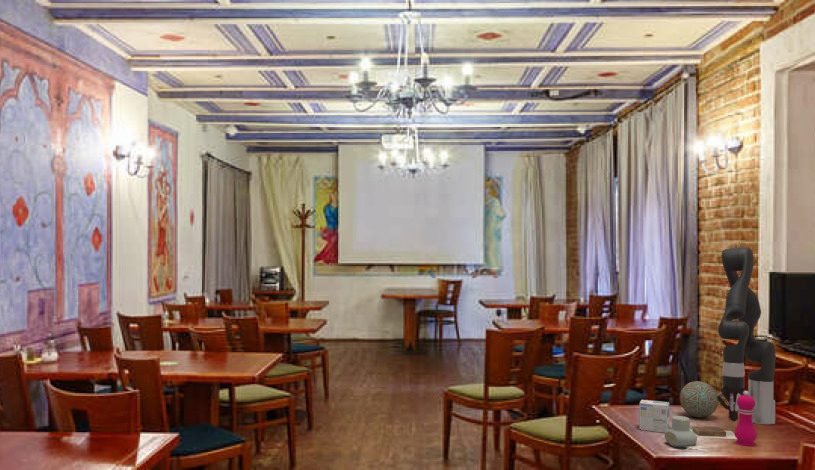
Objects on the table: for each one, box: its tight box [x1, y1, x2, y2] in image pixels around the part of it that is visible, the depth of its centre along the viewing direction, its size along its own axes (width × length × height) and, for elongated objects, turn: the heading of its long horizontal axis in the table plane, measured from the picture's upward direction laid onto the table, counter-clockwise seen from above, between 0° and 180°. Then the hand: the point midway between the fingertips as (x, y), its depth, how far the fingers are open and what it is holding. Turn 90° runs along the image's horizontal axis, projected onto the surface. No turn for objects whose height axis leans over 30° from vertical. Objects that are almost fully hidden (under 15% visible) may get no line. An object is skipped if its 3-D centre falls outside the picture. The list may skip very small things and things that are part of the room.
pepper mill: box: [734, 390, 758, 447], centre depth 258 cm, size 7×7×20 cm
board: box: [690, 428, 738, 440], centre depth 271 cm, size 20×12×1 cm, turn 84°
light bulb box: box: [638, 399, 670, 434], centre depth 281 cm, size 11×7×11 cm, turn 65°
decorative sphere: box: [679, 380, 719, 419], centre depth 303 cm, size 15×15×15 cm
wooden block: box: [692, 425, 726, 436], centre depth 271 cm, size 2×7×10 cm
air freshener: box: [664, 415, 698, 449], centre depth 258 cm, size 11×8×10 cm
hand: (733, 420), depth 270 cm, fingers closed
